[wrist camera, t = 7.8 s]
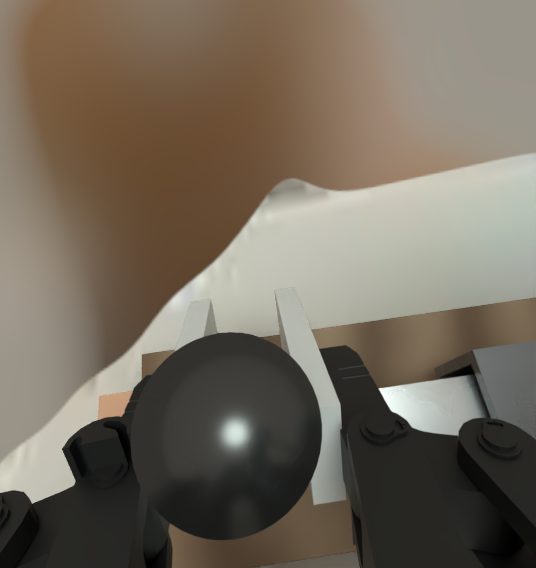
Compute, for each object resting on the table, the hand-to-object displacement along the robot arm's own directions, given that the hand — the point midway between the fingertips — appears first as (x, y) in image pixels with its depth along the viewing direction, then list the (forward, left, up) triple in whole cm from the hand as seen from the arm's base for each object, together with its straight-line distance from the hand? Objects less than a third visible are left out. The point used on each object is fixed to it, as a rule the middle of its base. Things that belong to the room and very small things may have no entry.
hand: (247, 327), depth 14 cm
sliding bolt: (-3, +4, -5) cm, 7 cm away
